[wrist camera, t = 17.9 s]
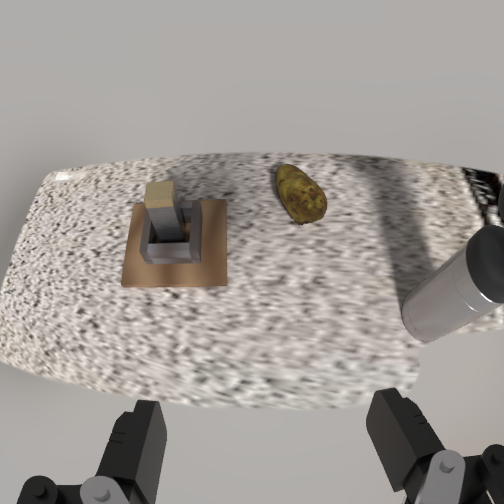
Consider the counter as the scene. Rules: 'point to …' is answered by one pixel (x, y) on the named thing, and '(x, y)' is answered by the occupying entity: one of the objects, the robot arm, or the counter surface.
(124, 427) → the robot arm
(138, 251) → the well board
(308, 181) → the potato
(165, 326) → the counter surface
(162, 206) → the tall square pillar
